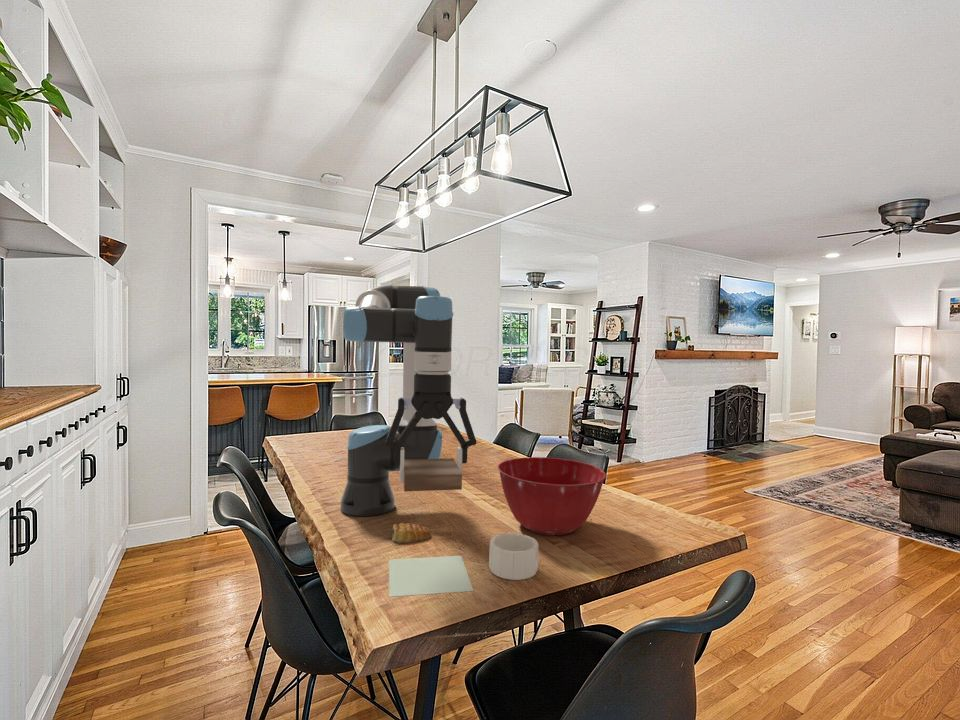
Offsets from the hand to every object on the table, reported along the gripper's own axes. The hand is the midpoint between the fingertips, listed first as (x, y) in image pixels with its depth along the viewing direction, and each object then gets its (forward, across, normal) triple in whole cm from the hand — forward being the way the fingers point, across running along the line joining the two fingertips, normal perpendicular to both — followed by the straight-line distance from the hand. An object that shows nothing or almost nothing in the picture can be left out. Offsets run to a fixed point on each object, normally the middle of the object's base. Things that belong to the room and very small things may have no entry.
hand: (430, 479), depth 102 cm
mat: (+20, 0, 0) cm, 20 cm away
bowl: (+20, +18, 0) cm, 27 cm away
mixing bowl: (+20, +34, +24) cm, 46 cm away
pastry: (+20, -4, +20) cm, 29 cm away
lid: (0, 0, 0) cm, 0 cm away
